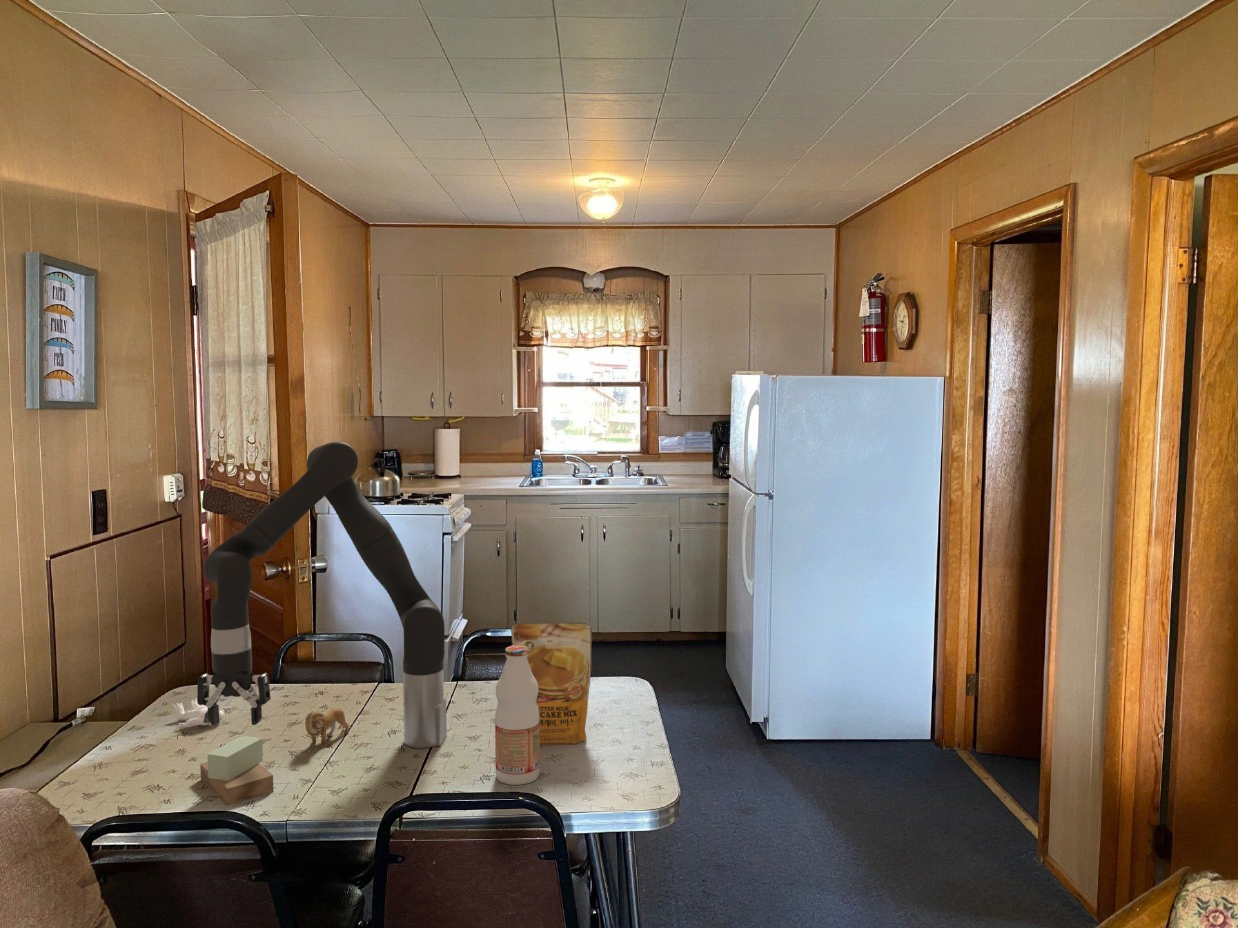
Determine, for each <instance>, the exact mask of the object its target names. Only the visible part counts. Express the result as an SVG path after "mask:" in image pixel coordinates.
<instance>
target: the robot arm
mask: <svg viewBox="0 0 1238 928" xmlns="http://www.w3.org/2000/svg"><path fill="white" fill-rule="evenodd" d="M358 467H359V457H358V454H357V452H356V449H355V448H353V447H352V445H350V444H348V443H346V442H343V441H331V442H328V443H325V444H322V445H319V446H317V447H315V448H314V449H312V451H310V453H309V454H308V456H307V459H306V469H307V470H306V472H305V473H304V474H303V475H302V476H301V477H300V478H299V479H298V480H297V481H296V482H295V483H294V484H293V485H291V487H289V488H288V489H287V490H286V491H284V492H283V493H282V494H280V495H279V496H277V497H276V498H275V499H274V500H273V501H271V502H270V503H268V505H266V506H265V507H264V508H263V509H262V510H261V511H259V512H258V513H257V515H255V516H254V517H253V518H252V519H251V520H250V521H249V522H248V523H247V524H246V525H245V526H244V527H243V529H241V530H240V531H238V533H236V534H234V535H233V536H230V538H228V539H227V540H226V541H224V542H223V543H221V544H220V545H218V546H217V547H216V548H214V550H213V551H211V552H210V554H209V555H208V556H207V557H206V559H205V560H204V563H203V569H202V570H203V574H204V576H205V577H206V579H207V580H208V581H210V582H212V583H213V584H217V593H216V598H215V599H214V600H213V601H212V602H211V605H210V621H211V633H210V649H211V651H210V652H211V665H212V666H211V667H212V668H211V669H212V673H213V674H211V675H210V674H209V673H207V672H205V673H204V674H201V675H200V676H199V677H198V678H197V686H196V687H197V689H196V690H197V691H196V692H197V695H196V696H197V697H196V699H197V703H198V704H199V705H201V706H202V705H205V706H207V708H208V720H209V722H211V723H210V725H211V726H216V725H218V724H219V722H220V719H219V711H220V707H219V706H220V705H219V704H218V702H219V701H220V700H221V698H222V697H224V698H225V697H226V698H228V697H234V698H235V697H237V698H240V697H242V699H243V700H244V701H247V703H248V704H249V705H250V706H251V708H250V714H251V715H250V717H251V719H250V720H251V725H252V726H257V724H259V723H260V721H261V720H262V718H263V714H262V713H263V712H262V710H263V709H262V706H263V705H266V704H267V703H268V702H269V701H270V700H271V697H272V696H271V689H270V688H271V687H270V681H269V679H270V678H269V674H268V673H267V672H264V673H262V674H254V672H253V653H252V652H253V651H252V634H251V629H250V620H249V619H250V617H249V605H248V604H249V599H250V594H251V588H252V581H253V570H252V565H251V561H252V559H254V558H256V557H258V556H262V555H265V554H267V553H268V552H269V551H271V550H272V549H273V548H274V546H275V545H277V544H278V543H279V542H280V541H282V539H283V537H285V535H287V534H288V532H290V531H291V530H292V528H293V527H294V526H296V525H297V523H298V522H300V520H301V519H302V518H303V517H304V516H305V515H307V513H308V512H309V511H311V509H312V508H313V507H315V505H316V504H317V503H319V502H320V501H321V500H322V499H324V498H326V500H327V501H328V503H329V504H330V505H331V507H332V508H333V510H334V512H335V513H336V515H337V517H338V519H339V522H340V523H341V525H342V526H343V528H344V530H345V532H346V533H347V534H348V537H349V539H350V540H351V542H352V544H353V546H354V548H355V549H356V551H357V553H358V554H359V556H360V558H361V560H362V561H363V563H364V565H365V566H366V567H367V569H368V570H369V572H370V573H371V574H372V576H374V578H375V579H376V580H377V582H379V584H380V585H381V586H382V587H383V588H384V590H385V591H386V592H387V594H388V596H389V598H390V600H391V602H392V604H393V605H394V608H395V610H396V612H397V615H398V617H399V619H400V622H401V625H402V626H401V627H402V629H403V659H402V667H403V668H402V672H403V673H402V676H403V677H402V680H403V681H402V685H403V689H402V690H403V723H404V724H403V736H404V738H403V739H404V741H403V742H404V744H405V745H406V746H407V747H410V748H414V749H415V748H416V749H425V748H433V747H436V746H437V747H439V746H442V745H443V742H444V741H445V739H446V738H447V735H448V734H447V697H445V696H444V694H445V691H444V688H445V687H444V660H445V647H446V646H445V637H446V635H445V632H446V631H445V619H444V616H443V614H442V612H441V610H440V607H438V606H437V604H436V603H435V602H434V601H433V600H432V598H431V597H430V596H429V595H428V592H426V591H425V589H424V588H423V586H422V585H421V583H420V581H419V580H418V579H417V577H416V574H415V572H414V570H413V568H412V565H411V562H410V560H409V557H408V556H407V553H406V550H405V548H404V546H403V544H402V543H401V541H400V539H399V537H398V535H397V534H396V532H395V530H394V528H393V527H392V525H391V524H390V522H389V521H388V520H387V519H386V517H384V515H383V514H381V512H380V511H379V510H378V509H377V508H376V507H375V506H374V505H373V504H372V503H371V502H370V501H369V500H367V499H366V497H365V496H364V495H363V493H362V492H361V491H360V489H359V488H358V486H357V484H356V482H355V479H354V478H353V476H354V474H355V473H356V471H357V469H358ZM254 682H255V685H256V687H257V688H258V693H257V690H256V688H255V687H254V685H252V684H253V683H254ZM211 684H213V686H214V687H215V690H214V692H213V693H212V695H211V696H210V685H211Z"/></svg>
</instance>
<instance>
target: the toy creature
mask: <svg viewBox="0 0 1238 928" xmlns="http://www.w3.org/2000/svg"><path fill="white" fill-rule="evenodd" d="M190 704H191V706H192V707H191V708H192V709H191V710H187V711H185V709H184V705H183V703H182V702H179V703H178V702H176V705H175V704H173V705H172V710H173V712H174V714H175V715H176V719H177V720H178V721H179V722H178V723H177V724H178V725H176V724H175V729H176V730H180V731H181V730H183V729H185V728H190V727H191V728H192V727H198V726H207V725H209V724H210V725H211V722H209V720H208V708H207V706H205V705H199V704H198V703H197V697H195V698H194V699H191V703H190ZM224 712H225V709H223V710H219V720H220V719H222V718H223V717H224V714H225V713H224Z"/></svg>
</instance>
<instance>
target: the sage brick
mask: <svg viewBox="0 0 1238 928" xmlns="http://www.w3.org/2000/svg"><path fill="white" fill-rule="evenodd" d="M206 756H207V762H208V778H213V779H219V780H225V781H229V780H231V779H233V778H234V777H236V776H238V775H240V774H241V773H243V772H245V771H247V770H248V769H250V768H252V767H254V766H255V765H257V764H261V763H262V762H263V761H264V759H263V738H262V737H253V736H247V735H240V737H237V738H236V739H233V740H232V741H230V742H227V743H226V744H224V745H222V746H220V747H218V748H216V749H214V750H213V751H210V752H208V753H207V755H206Z"/></svg>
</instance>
